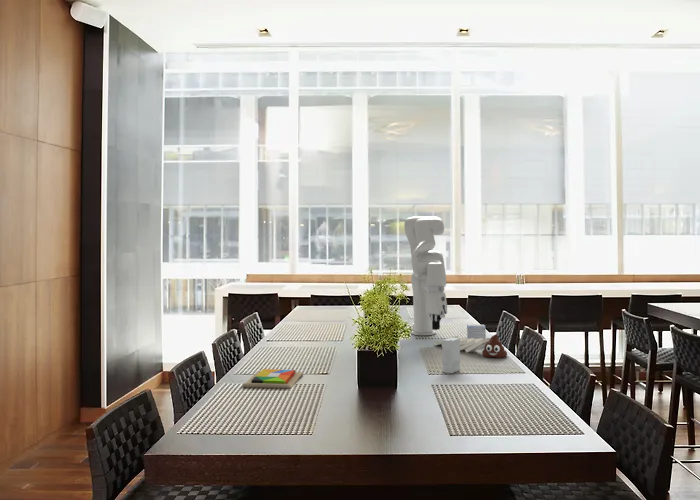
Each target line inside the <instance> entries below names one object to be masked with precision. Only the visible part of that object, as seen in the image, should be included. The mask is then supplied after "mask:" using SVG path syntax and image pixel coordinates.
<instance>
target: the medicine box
mask: <svg viewBox="0 0 700 500" xmlns="http://www.w3.org/2000/svg"><path fill="white" fill-rule="evenodd" d="M486 333H487V332H486V325H485V324H467V325H466V339H470V338H475V339H479V338H483V339H487V338H486V337H487V336H486V335H487V334H486Z"/></svg>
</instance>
